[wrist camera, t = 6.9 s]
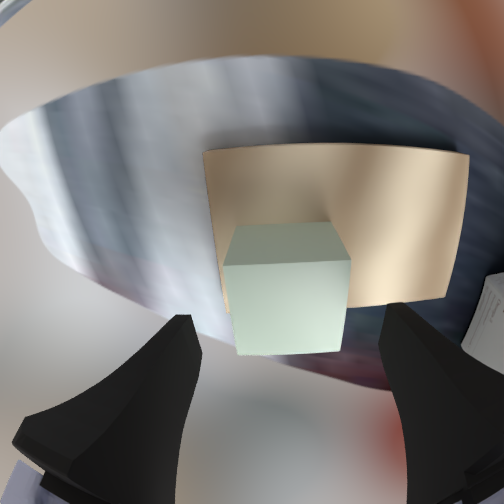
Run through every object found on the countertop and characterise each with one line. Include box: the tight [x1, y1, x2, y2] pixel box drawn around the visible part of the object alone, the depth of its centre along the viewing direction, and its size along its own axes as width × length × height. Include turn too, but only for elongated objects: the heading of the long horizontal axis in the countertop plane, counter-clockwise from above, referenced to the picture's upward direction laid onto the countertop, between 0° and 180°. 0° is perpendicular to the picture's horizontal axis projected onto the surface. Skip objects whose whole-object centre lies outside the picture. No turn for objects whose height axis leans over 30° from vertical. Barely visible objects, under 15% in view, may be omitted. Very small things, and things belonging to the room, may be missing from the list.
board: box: [203, 143, 469, 313], centre depth 14 cm, size 14×9×1 cm, turn 95°
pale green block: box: [223, 222, 351, 355], centre depth 12 cm, size 5×5×4 cm
